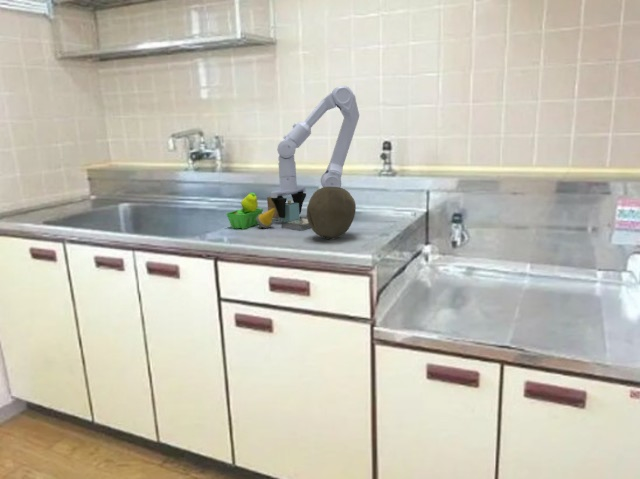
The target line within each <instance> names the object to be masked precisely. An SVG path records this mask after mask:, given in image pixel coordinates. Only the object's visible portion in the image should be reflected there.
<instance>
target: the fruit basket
mask: <svg viewBox="0 0 640 479" xmlns="http://www.w3.org/2000/svg"><path fill="white" fill-rule="evenodd" d="M240 205H241V209H237V210H234V211H233V210H232V211H230V212H227V213H225V215H226V217H227V218H228V221H229V224H230V226H231V228H232V229H239V228H242V229H241V230H245V229H247V228H248V229H249V228H251V227H254V226H257V225H259V223H258V222H257V219H256V218H257V216H258V215H259V214H263V211H264V208H258V206H259V205H258V198H257V194H256V193H255V192H250V193H248V195H246V196H245V197H244V198H243V199H242V200H241V202H240Z"/></svg>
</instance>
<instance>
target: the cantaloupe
mask: <svg viewBox="0 0 640 479" xmlns="http://www.w3.org/2000/svg"><path fill="white" fill-rule="evenodd" d="M356 205H357V204H356V201H355V198H354V197H353V196H352V195H351V193H350V192H349V190H347V189H345V188H343V187H323V186H322V187H321V188H319V189H316V191H314V193H313V194H312V195H311V197H310V198H309V201H308V203H307V208H306V218H307V219H308V223H309V225H310V227H311V228H310V229H311V230H312V231H313V232H314V234H316V235H317V236H319V237H321V238H323V239H327V240H335V239H338V238H340V237H341V236H343V235H345V233H347V231H349V229H350V227H351V226H352V224H353V221H354V219H355V215H356V211H357V210H356V209H357V208H356Z"/></svg>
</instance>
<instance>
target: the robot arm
mask: <svg viewBox="0 0 640 479" xmlns="http://www.w3.org/2000/svg"><path fill="white" fill-rule="evenodd" d="M356 100H357V98H356V95H355V94H354V92H353V90H352V89H351V88H350V87H349V86H347V85H339V86H337V87H335V88H334V89H333V90H332V91H331V92H330V93H328V94H327V95H326V96H325V97H323V98H322V99H321V100H320V101H319V103H318V104H317V106H315V107H314V109H313V110H312V112H311V113H309V115H308V116H307V117H306V118H305V120H304V121H298V122H297V123H293V125H291V127H292V129H291V130H290V131H289V132H288V133H287V134H286V135H284V136H283V137H282V138H283V140H282V141H280V142H279V143H278V144H277V153H278V177H279V188H278V189H277V190H274V191H271V192H270V197H271V200H272V201H273V203H274V205H275V206H276V209H277V211H278V214H279V218H285V205H286V203H287V201H288V199H287V197H285V196H288V195H289V196H291V198H292V202H293V203H299V214H300V215H301V213H302V208H303V204H304V202H305V199H306V197H307V193H306V192H307V191H306V186H301V185H299V186H297V181H298V180H297V168H296V164H297V163H296V161H295V154H296V149H299V148H300V147H301V146H302V145H303V144H304V142H305V141H306V140H307V139H308V138H309V137H310V136H311V134H312V127H314V125H315V124H316V123H317V122H318V121H319V120H320V119H321V118H322V117H323V116H324V115H325V114H326V113H327V111H329V110H331V109H334V108H335V109H336V108H338V109H339V111H340V113H341V115H342V116H343V120H342V122H341V126H340V130H339V132H338V136H337V139H336V141H335V145H334V148H333V151H332V154H331V157H330V161H329V163H328V165H327V167H326V170H325V172H324V173H323V174H322V175H321V177H320V184H321V186H322V188H323V187H340V188H342V175H343V168H344V165H345V162H346V158H347V155H348V152H349V150H350V146H351V143H352V140H353V137H354V135H355V132H356V128H357V125H358V122H359V118H360V112H359V108H358V104H357V101H356Z"/></svg>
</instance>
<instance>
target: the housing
mask: <svg viewBox="0 0 640 479" xmlns="http://www.w3.org/2000/svg"><path fill="white" fill-rule="evenodd" d="M300 216H301V214H299V203H294V202H293V201H292V200H287V202H286V205H285V218H281V219H280V220H281V222H282V223H284V222H288V221H292V220H296V219H300V218H301V217H300Z"/></svg>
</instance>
